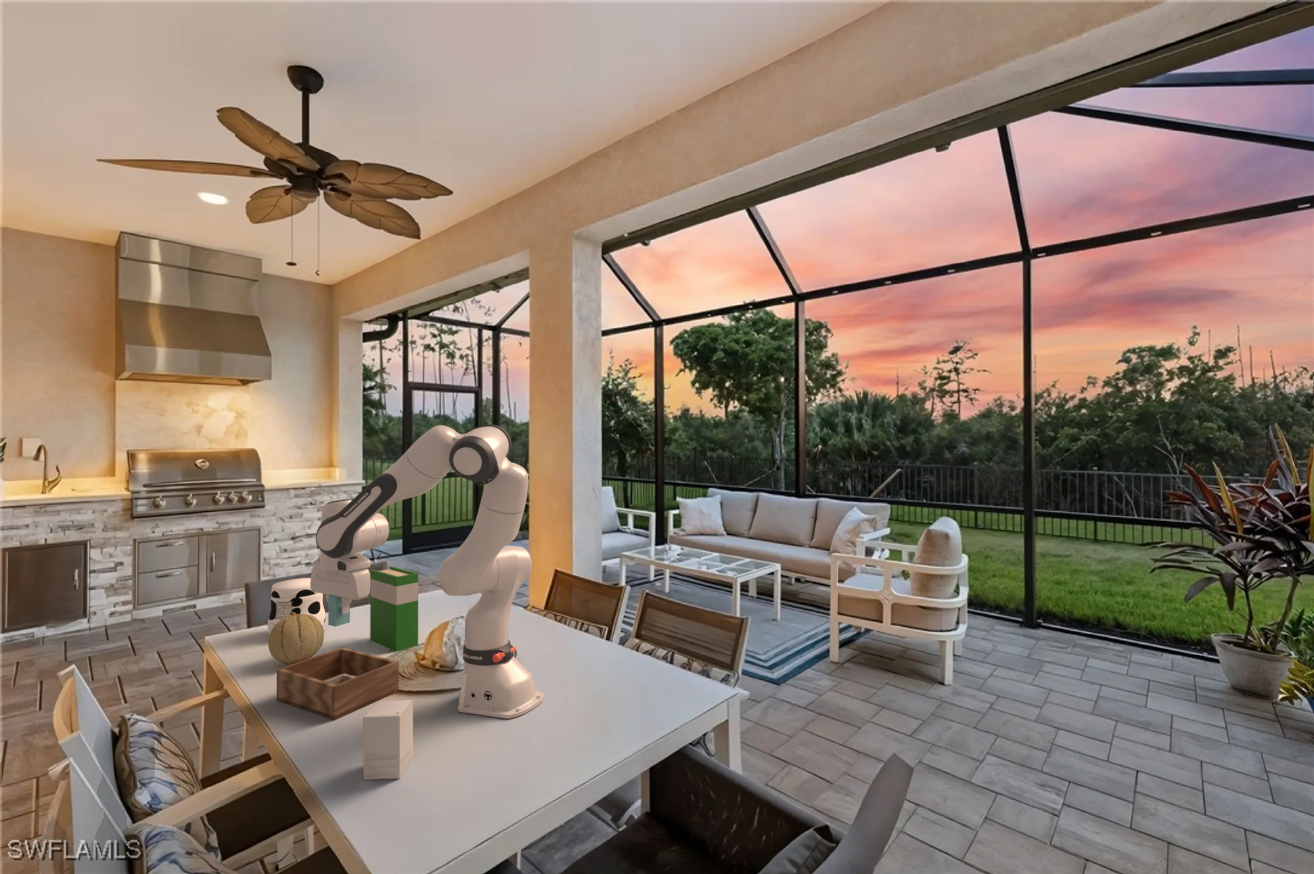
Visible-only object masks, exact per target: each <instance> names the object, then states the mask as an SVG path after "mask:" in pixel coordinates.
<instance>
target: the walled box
mask: <svg viewBox="0 0 1314 874" xmlns="http://www.w3.org/2000/svg"><path fill="white" fill-rule="evenodd" d="M399 665H400V662H399V661H397V660H394V659H390V658H386V657H382V656H378V655H374V654H371V653H366V652H362V651H358V650H355V649H350V648H346V647H340V648H337V649H333V650H331V651H328V652H325V653H322V654H319V655H314V656H312V657H311V658H309V659H307V660H304V661H301V662H298V663H295V664H288V665H286V666H283V667H280V668H278V669H277V668H276V701H278V702H280V703H284V704H286V705H289V706H292V707H295V708H298V709H301V710H302V711H303V710H304V711H307V712H309V713H312V714H315V715H318V716H321V717H324V718H326V719H330V720H333V721H336V720H339V719H340V718H343V717H345V716H347V715H349V714H350V715H351V714H352V713H354V712H356V711H358V710H361V709H362V708H365V707H367V706H370V705H371V704H374V703H377V702H379V701H382V700H383V699H385V698H386V697H387V698H388V697H389V696H391V695H393V694H396V693H398V692H399V691H398V690H399V688H400V687H399V686H400V685H399V676H400V670H399V667H400V666H399ZM397 691H398V692H397Z"/></svg>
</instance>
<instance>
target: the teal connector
mask: <svg viewBox="0 0 1314 874" xmlns="http://www.w3.org/2000/svg"><path fill="white" fill-rule="evenodd" d="M342 603H343V601H342V597H338V596H335V595H328V602H327V604H328V606H327V607H328V611H327V612H328V613H327V615H328V617H327V618H328V619H327V620H328V621H327V622H328V624H327V625H328V626H332V627H339V626H342V625H346V624H348V623H350V621H351V618H350V617H351V605H350V606H349V612H348V613H346V614H342V613H340V612H339V611H340V610H339V607H341V606H342Z"/></svg>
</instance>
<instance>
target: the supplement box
mask: <svg viewBox="0 0 1314 874" xmlns="http://www.w3.org/2000/svg"><path fill="white" fill-rule="evenodd" d="M413 701H414V700H413V699H409V700H406V699H405V700H378V701H377V702H376V704H375V705H374V706H373V707H371V709H369V711H368V712H367V713H366V714H365V715H364V716H363V717H362V724H363V725H362V726H363V727H362V729H363V732H362V733H363V739H362V740H363V741H362V742H363V743H362V744H363V758H362V759H363V780H364V781H368V780H372V781H373V780H392V779H393V780H394V779H395V780H396V779H397V780H398V779H401V777H402V776H403V775H404V773H405V772H406V770H407V769H408V768H409V766H410V765H411V763H412V762H413V760H414V702H413Z"/></svg>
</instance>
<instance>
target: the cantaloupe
mask: <svg viewBox="0 0 1314 874" xmlns="http://www.w3.org/2000/svg"><path fill="white" fill-rule="evenodd" d="M289 615H292V616H289V617H286V618H284V619H282V620H281V621H279V622H278V623H277V624H276V625H275V626H274V628H273V629H272V631H271V633H269V636H268V640H267V642H268V643H267V646H268V651H269V653H270V655H271V656H272V658H273V659H274V660H276V661H278V662H279V663H282V664H287V665H292V664H295V663H298V662H301V661H304V660H307V659H309V658H312V657H314V656H316V654H317V653H318V652H319V650H320V649H321V647H322V645H323V643H324V638H325V630H324V626H322V625H321V623H320V621H319V620H318V619H316V618H315V617H314V616H312V615H308V614H296V613H295V612H290V614H289Z"/></svg>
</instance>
